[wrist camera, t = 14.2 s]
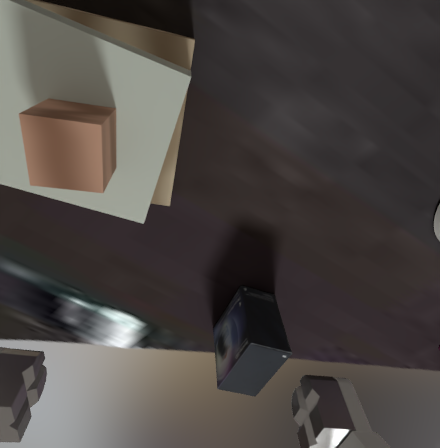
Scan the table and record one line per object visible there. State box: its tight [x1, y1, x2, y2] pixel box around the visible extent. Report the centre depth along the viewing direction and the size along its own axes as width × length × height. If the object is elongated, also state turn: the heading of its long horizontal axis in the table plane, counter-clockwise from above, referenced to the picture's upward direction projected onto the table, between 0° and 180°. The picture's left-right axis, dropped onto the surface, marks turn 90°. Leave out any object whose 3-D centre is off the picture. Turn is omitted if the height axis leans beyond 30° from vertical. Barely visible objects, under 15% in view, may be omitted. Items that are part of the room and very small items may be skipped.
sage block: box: [0, 0, 191, 224], centre depth 27 cm, size 14×14×4 cm
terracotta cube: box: [19, 98, 117, 193], centre depth 24 cm, size 5×5×5 cm
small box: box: [213, 286, 292, 396], centre depth 46 cm, size 11×6×10 cm, turn 156°
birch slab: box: [26, 0, 195, 206], centre depth 31 cm, size 16×16×4 cm
